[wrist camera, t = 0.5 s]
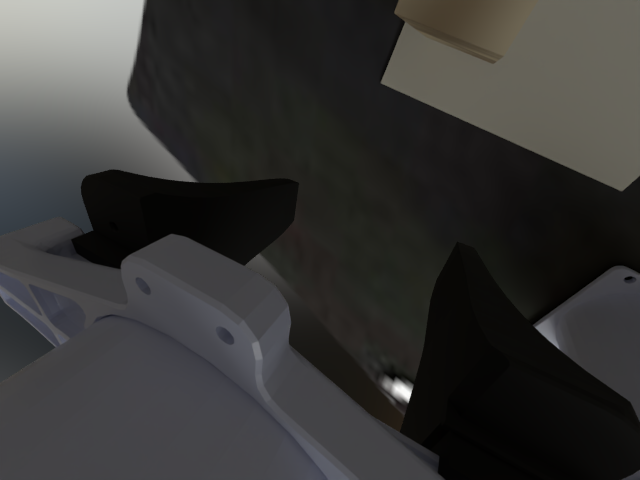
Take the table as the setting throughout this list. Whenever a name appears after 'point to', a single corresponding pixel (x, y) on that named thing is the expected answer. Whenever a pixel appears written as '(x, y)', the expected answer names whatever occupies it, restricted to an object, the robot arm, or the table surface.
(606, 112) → the felt mat
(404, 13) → the birch block
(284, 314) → the robot arm
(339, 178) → the table surface
